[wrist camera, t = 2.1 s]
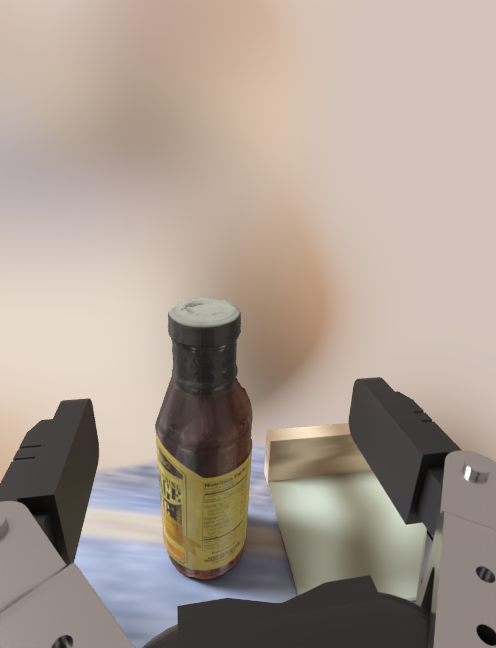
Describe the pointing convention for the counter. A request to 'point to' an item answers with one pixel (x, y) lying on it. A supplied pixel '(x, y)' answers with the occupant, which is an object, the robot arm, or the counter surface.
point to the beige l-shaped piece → (338, 513)
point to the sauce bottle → (204, 441)
